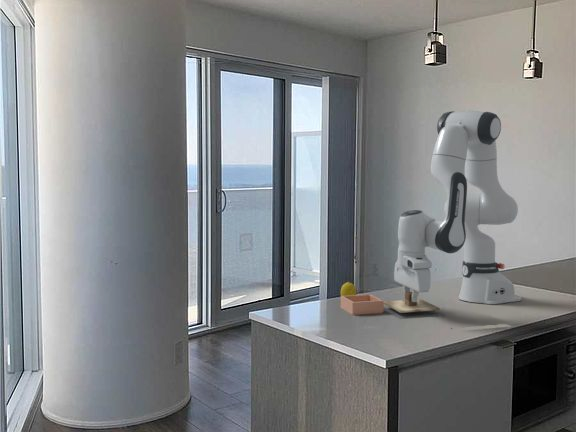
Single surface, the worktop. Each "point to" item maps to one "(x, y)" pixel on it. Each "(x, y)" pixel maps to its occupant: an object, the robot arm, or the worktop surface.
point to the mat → (412, 314)
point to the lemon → (348, 289)
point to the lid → (410, 305)
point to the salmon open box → (362, 304)
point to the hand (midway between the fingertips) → (410, 300)
